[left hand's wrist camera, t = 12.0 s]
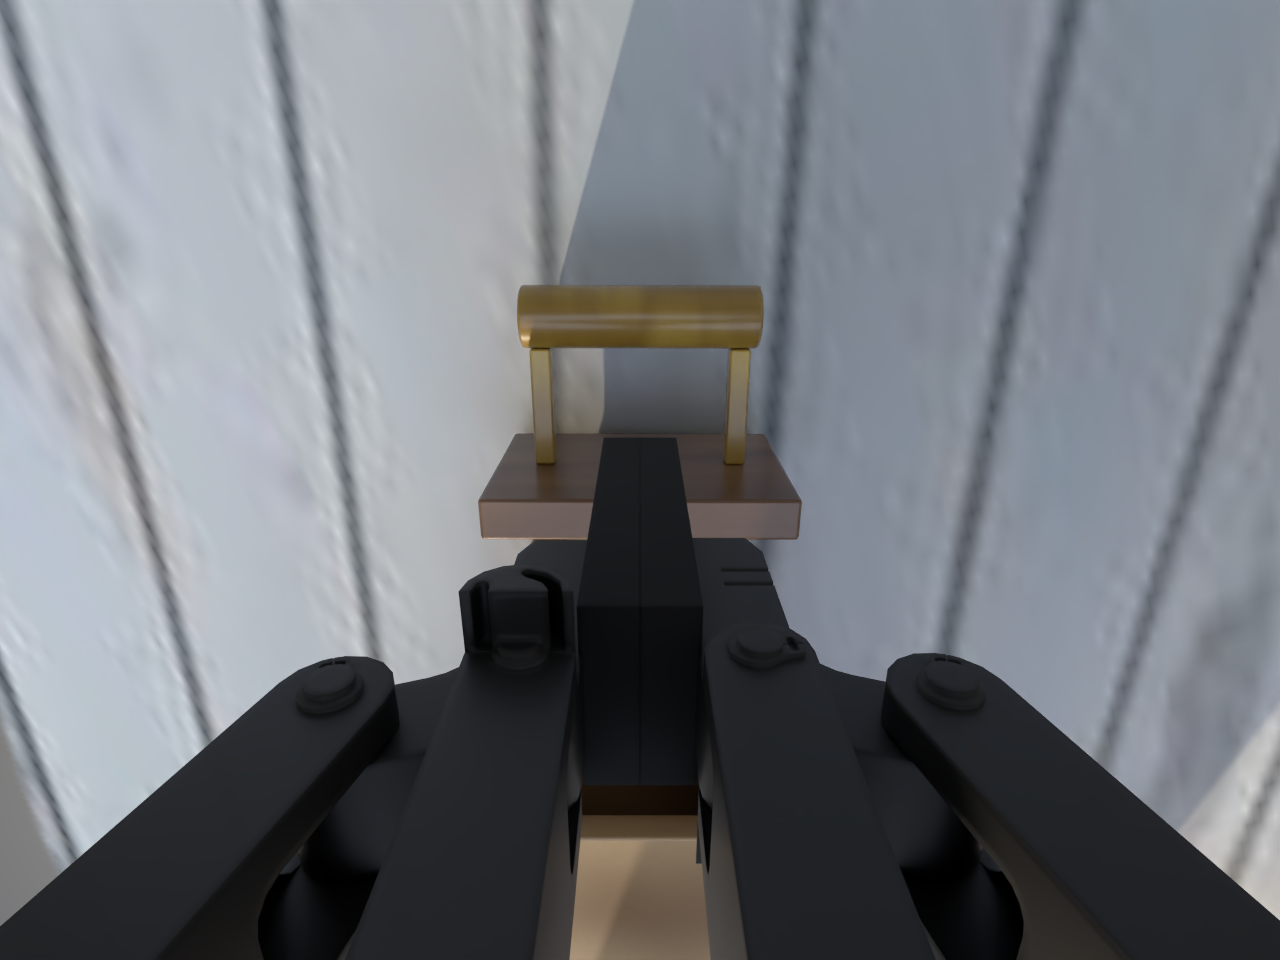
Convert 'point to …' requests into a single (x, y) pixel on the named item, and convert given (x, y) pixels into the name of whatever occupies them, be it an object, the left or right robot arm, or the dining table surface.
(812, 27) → the dining table surface
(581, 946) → the cabinet
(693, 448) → the drawer
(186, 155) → the dining table surface
